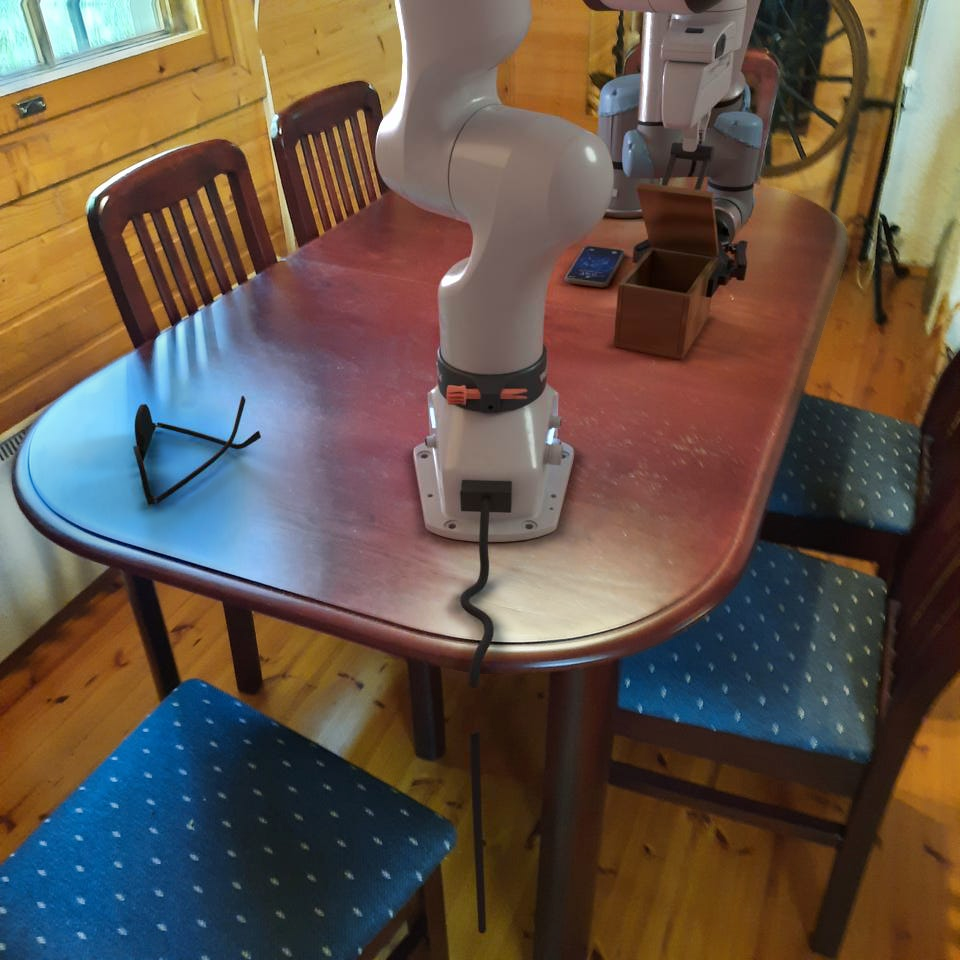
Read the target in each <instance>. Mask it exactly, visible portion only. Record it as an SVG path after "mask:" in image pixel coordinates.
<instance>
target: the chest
mask: <svg viewBox="0 0 960 960" xmlns="http://www.w3.org/2000/svg"><path fill="white" fill-rule="evenodd" d="M716 265H717V258H716V257H710V256H703V255H697V254H690V253H684V252H677V251H671V250H664V249H658V248H656V249H655V248H650V249H649V250H648V251H647V252H646V253H645V255H644V256H643V257H642V258H641V259H640V260H639V261H638V262H637V264H636V263H635V265H634V266H632V268H631V269H630V270H629V271H628V272H627V274H626V275H624V277H623V278H622V279H621V280H620V282H618V285H617V295H616V296H617V297H616V308H615V321H614V334H613V347H614V348H619V349H624V350H625V349H626V350H630V351H634V352H640V353H644V354H649V355H654V356H659V357H664V358H670V359H674V360H679V361H682V360H683V359H684V357H685V356H686V354H687V353H688V352H689V349H690V348H691V346H692V345H693V343H694V341H695V340H696V338H697V337H698V335H699V333H700V332H701V331H702V329H703V328H704V326H705V324H706V323H707V321H708V319H709V317H710V311H711V303H712V297H713V296H712V297H711V298H710V297H706V295H707V288H708V281H709V278H710V277H711V275H712V274H713V272H714V271H715V269H716Z"/></svg>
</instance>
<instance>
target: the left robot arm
mask: <svg viewBox="0 0 960 960" xmlns="http://www.w3.org/2000/svg"><path fill="white" fill-rule="evenodd" d="M582 2H583V3H584V5H585V6H586V7H588V9H590V10H592V11H594V12H622V11H626V12H636V13H644V12H648V13H659V14H660V13H666V14H672V17H671V21H670V27H669V30H668V32H667V35H666V36H665V38H664V40H663V42H662V46H661V59H662V60H667V62H666V64H665V67H664V73H663V87H662V120H663V124H664V127H665V128H668V129H676V130H682V131H683V137H684V138H683V150H684V151H689V152H694V151H695V150H696V149H697V148H698V146H699V145H701V144H702V143H703V142H704V140H705V132H706V128H707V124H708V121H709V118H710V114H711V109H712V108H713V107H714V106H715V105H716V104H717V103H718V102H719V101H720V100H721V99H722V98H723V97H724V96H725V95H726V94H727V93H728V91H729V88H730V84H731V76H732V67H733V56H734V51H736V50H738V49H740V48H741V44H742V37H743V30H744V22H745V15H746V8H747V0H582ZM394 5H395V11H396V16H397V23H398V28H399V34H400V42H401V55H402V56H401V57H402V60H401V61H402V63H401V65H402V66H401V67H402V68H401V80H400V86H399V92H398V95H397V99H396V101H395V102H394V104H393V105H391V107H390V108H389V109H388V110H387V112H386V113H385V115H384V117H383V118H382V119H381V121H380V125H379V127H378V131H377V134H376V139H375V148H374V149H375V153H374V154H375V163H376V167H377V170H378V172H379V176H380V177H381V179H382V182H384V184H385V185H386V187H388V189H390V190H391V191H393V192H394V193H396V194H397V195H399V196H400V197H402V198H403V199H404V200H406V201H408V202H409V203H411V204H412V205H414V206H416V207H418V208H420V209H422V210H424V211H426V212H429V213H433V214H436V215H440V216H443V217H446V218H449V219H453V220H456V221H459V222H463V223H466V224H468V225H469V226H470V229H471V233H472V246H471V251H470V255H469V256H467V257H465V258H463V259H461V260H459V261H458V262H455V264H454V265H452V266H451V267H450V268H449V269H448V270H447V271H446V273H445V274H444V275H443V277H442V278H441V280H440V282H439V285H438V288H437V307H438V324H439V326H438V327H439V342H440V343H439V344H440V345H439V346H438V348H437V354H436V356H437V358H436V363H435V364H436V376H437V384H436V385H435V387H434V386H433V388H432V389H431V390H430V391H428V392H427V406H428V407H427V409H428V424H429V435H426V436H425V438H424V442H422V443H419V444H417V445H416V446H415V447H414V448H413V454H412V455H413V457H412V458H413V464H414V470H415V475H416V476H415V477H416V480H417V487H418V492H419V498H420V499H419V500H420V503H421V504H420V505H421V510H422V516H423V522H424V526H425V529H426V530H427V531H428V532H429V533H432V534H434V535H437V536H440V537H443V538H448V539H452V540H457V541H466V542H477V543H478V552H479V553H478V554H479V575H478V577H477V578H478V579H477V580H476V581H475V583H474V584H472V585H471V586H470V587H468V588H467V589H466V590H464V591H463V592H462V593H461V595H460V600H459V601H460V606H461V608H462V609H463V611H465V612H466V613H467V614H468V615H470V616H471V617H474V618H476V619H477V620H479V621H480V622H481V623H482V625H483V635H482V638H481V640H480V642H479V644H478V645H477V647H476V649H475V651H474V653H473V657H472V659H471V662H470V668H469V676H468V685H469V687H470V688H472V689H475V688H477V687H478V686H479V683H480V673H481V667H482V664H483V660H484V657H485V655H486V653H487V651H488V650H489V647H490V645H491V644H492V642H493V638H494V630H495V628H494V623H493V621H492V618H491V617H490V616H489V615H488V614H487V613H486V612H485V611H484V610H482V609H480V608H479V607H476V606H475V605H473V604H472V603H471V601H470V599H471V598H472V597H473V596H475V595H476V594H478V593H480V592H481V591H482V590H483V589H484V588H485V586H486V585H487V582H488V579H489V574H490V557H489V543H500V542H501V543H502V542H503V543H506V542H518V541H527V540H531V539H536V538H539V537H543V536H546V535H548V534H550V533H552V532H554V531H556V530H557V527H558V525H559V520H560V518H561V517H560V516H561V512H562V508H563V504H564V500H565V497H566V492H567V488H568V483H569V480H570V476H571V472H572V469H573V468H572V467H573V464H574V459H575V450H574V447H573V446H571V445H570V444H568V443H566V442H563V441H561V439H560V438H558V430H560V429H561V428H562V416H559V392H557V391H556V390H555V389H554V388H553V387H552V386H551V385H550V384H549V383H548V382H547V379H548V367H549V361H548V356H547V355H548V354H547V353H548V351H547V347H546V345H545V344H544V330H545V329H544V327H545V314H546V313H545V312H546V301H547V291H548V287H549V282H550V279H551V275H552V273H553V271H554V268H555V266H556V264H557V263H558V261H559V259H560V258H561V257H562V256H563V254H564V253H565V252H566V251H567V250H569V248H571V247H572V246H573V245H575V244H577V243H579V242H581V241H582V240H584V238H586V237H587V236H589V235H590V234H591V233H592V232H593V231H594V230H595V229H596V228H597V227H598V225H599V224H600V223H601V221H602V220H603V219H604V217H605V216H604V215H605V213H606V211H607V209H608V206H609V204H610V201H611V197H612V193H613V187H614V170H613V164H612V159H611V156H610V153H609V150H608V148H607V146H606V144H605V143H604V141H603V140H602V139H601V138H600V137H598V136H597V135H598V134H595V133H593V132H591V131H589V130H587V129H585V128H584V127H581V126H580V125H577V124H575V123H573V122H572V121H569V120H567V119H565V118H563V117H561V116H558V115H553V114H550V113H545V112H539V111H534V110H529V109H523V108H519V107H514V106H509V105H505V104H503V103H502V101H501V99H500V97H499V93H498V87H497V82H498V81H497V79H498V69H499V66H500V65H501V64H503V63H504V62H506V61H507V60H508V59H509V58H510V57H512V56H513V55H514V53H516V52H517V51H518V49H519V48H520V47H521V45H522V44H523V42H524V41H525V40H526V37H527V36H528V33H529V30H530V27H531V25H532V16H533V12H532V11H533V10H532V3H531V0H394ZM469 741H470V742H469V745H470V746H469V747H470V777H471V778H470V779H471V780H470V781H471V784H470V785H471V804H472V806H471V807H472V808H471V809H472V810H471V811H472V830H473V850H474V851H473V852H474V868H475V870H474V871H475V888H476V889H475V891H476V910H477V929H478V933H479V934H485V933H486V931H487V918H486V917H487V916H486V889H485V865H484V864H485V862H484V861H485V860H484V841H483V840H484V839H483V838H484V837H483V816H482V815H483V812H482V811H483V809H482V808H483V807H482V775H481V771H482V770H481V769H482V768H481V731H478V732H475V733H471V734H469Z"/></svg>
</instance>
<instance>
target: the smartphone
mask: <svg viewBox="0 0 960 960" xmlns="http://www.w3.org/2000/svg"><path fill="white" fill-rule="evenodd" d="M624 256H625V252H624V250H622V249H619V248H618V249H616V248H609V247H600V246H592V245H586V246H584V247H583V249H581V251H580V253H579V255H578V256H577V257H576V259H575V261H574V262H573V264H572V265H571V267H569V270H568V271H567V273H566V275H565V276H564V282H566V283H567V284H573V285H581V286H588V287H594V288H595V287H596V288H607V287H608V286H609V284H610V283H611V282H612V279H613V277H614V276H615V274H616V272H617V270H618V268H619V266H620V264H621V262H622V260H623V258H624Z"/></svg>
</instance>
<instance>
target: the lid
mask: <svg viewBox="0 0 960 960" xmlns="http://www.w3.org/2000/svg"><path fill="white" fill-rule="evenodd" d="M714 151H715V148H714V147H713V146H704V145H699V146H698V148H697V149H696V150H695V151H694V152H689V151H684V150H683V143H676V142H674V143H673V144H672V146H671V151H670V156H671V157H670V160H669V163H668V166H667V169H666V172H665V175H664V178H662V180H661V183H660V185H656V184H648V183H640V182H638V185H637V192H638V197H639V201H640V205H641V209H642V214H643V217H642V218H643V221H644V226H645V230H646V234H647V239H649V243H650V246H651V247H657V248H664V249H670V250H677V251H683V252H690V253H696V254H703V255H709V256H716V257H717V256H718V253H719V247H718V237H717V226H716V215H715V205H714V194H713V192H711V191H707V190H703V189H702V187H703V183H704V180H705V178H706V177H705V175H706V171H707V168H708V165H709V162H712V160H713V157H714ZM676 158H679V159H688V160H697V161H703V164H702V167H701V170H700V173H699V176H698V177H697V179H696V182H695V185H694V188H689V187H688V188H687V187H680V186H673V185H672V186H671V185H669V182H670V179H671V178H670V176H671V173H672V170H673V167H674V164H675V161H676Z"/></svg>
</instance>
